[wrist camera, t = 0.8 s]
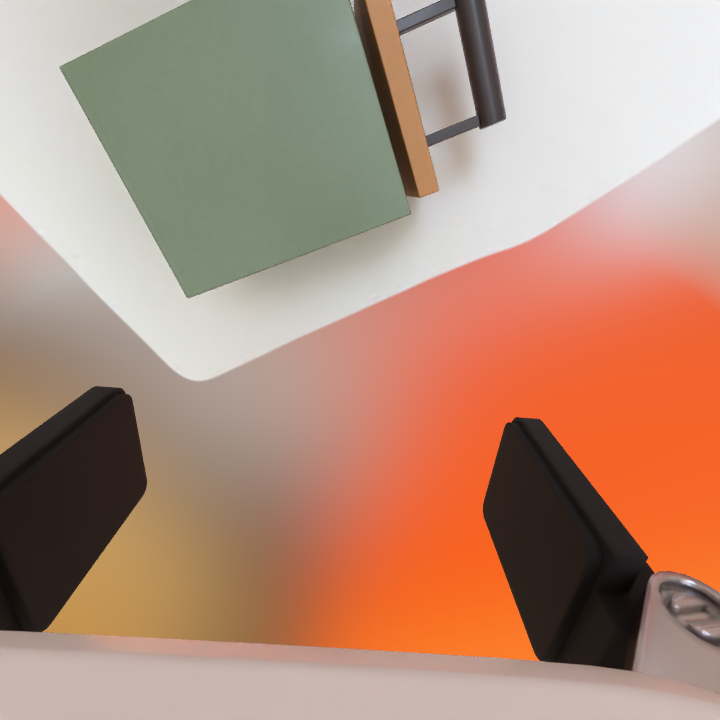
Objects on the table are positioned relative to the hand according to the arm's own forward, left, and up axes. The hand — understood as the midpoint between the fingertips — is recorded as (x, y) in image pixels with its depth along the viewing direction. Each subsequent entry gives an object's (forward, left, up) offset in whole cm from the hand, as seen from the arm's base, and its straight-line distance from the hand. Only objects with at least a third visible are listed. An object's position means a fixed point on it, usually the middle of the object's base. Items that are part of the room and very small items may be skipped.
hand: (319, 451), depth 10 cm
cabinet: (-5, -8, -26) cm, 27 cm away
